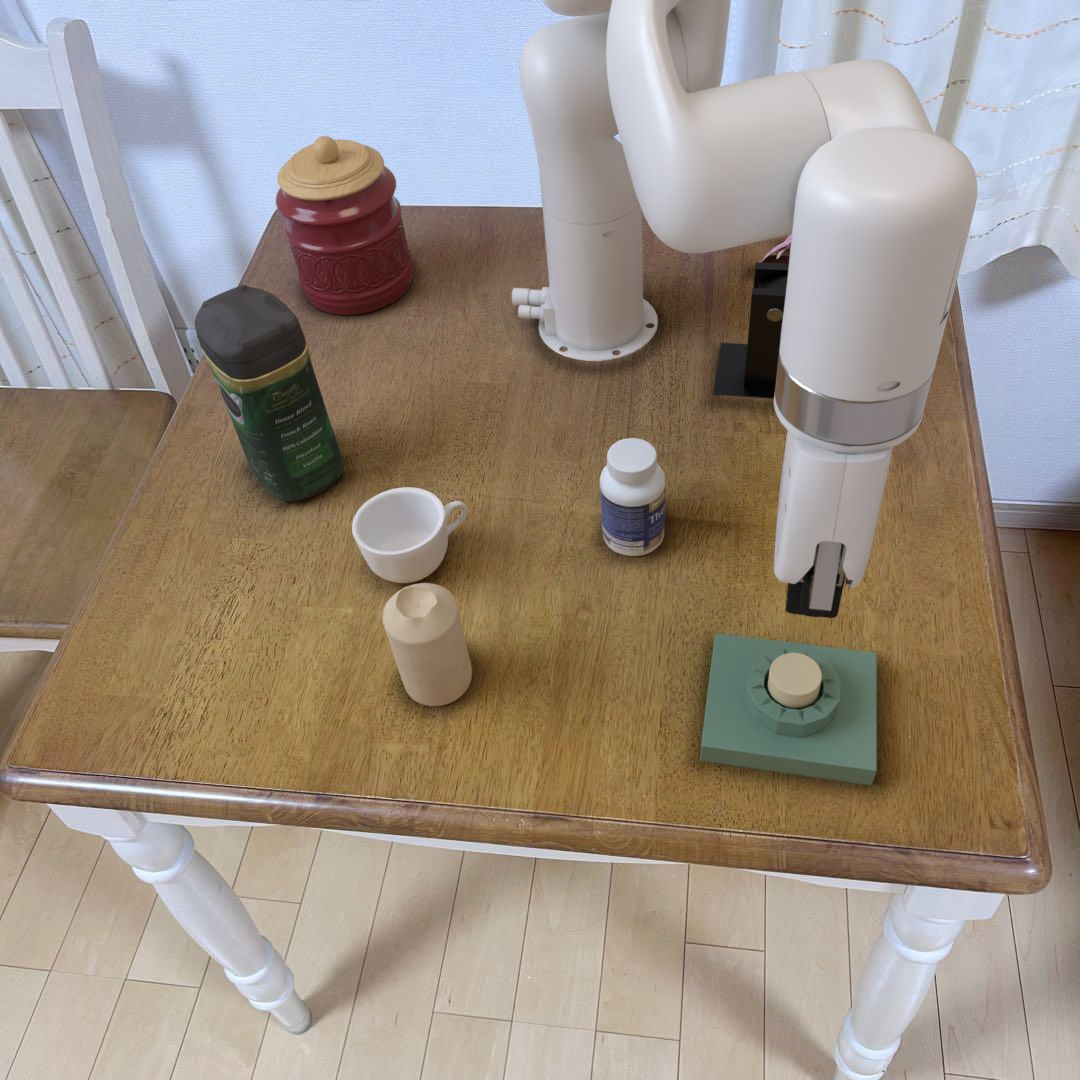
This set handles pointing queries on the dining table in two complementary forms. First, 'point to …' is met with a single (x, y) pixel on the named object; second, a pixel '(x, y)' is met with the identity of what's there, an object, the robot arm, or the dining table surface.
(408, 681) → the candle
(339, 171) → the kitchen canister
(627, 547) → the pill bottle
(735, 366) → the bracket
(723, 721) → the button box
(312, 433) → the coffee jar
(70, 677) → the dining table surface
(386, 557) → the teacup
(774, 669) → the button
